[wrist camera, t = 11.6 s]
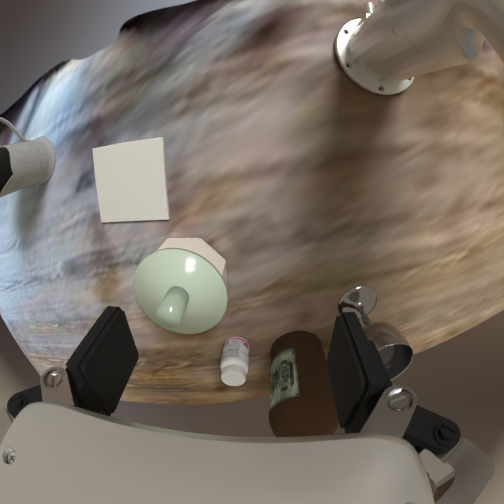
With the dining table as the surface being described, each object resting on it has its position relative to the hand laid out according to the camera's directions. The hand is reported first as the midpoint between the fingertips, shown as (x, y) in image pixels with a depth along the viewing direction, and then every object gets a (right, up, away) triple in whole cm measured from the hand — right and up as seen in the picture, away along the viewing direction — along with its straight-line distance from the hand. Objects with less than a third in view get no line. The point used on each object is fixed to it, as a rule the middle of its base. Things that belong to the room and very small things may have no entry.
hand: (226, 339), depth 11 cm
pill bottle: (-2, -13, +37) cm, 39 cm away
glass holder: (-37, +23, +23) cm, 49 cm away
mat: (-17, +14, +25) cm, 34 cm away
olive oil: (+9, -14, +37) cm, 41 cm away
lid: (-9, -2, +26) cm, 27 cm away
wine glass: (+19, -5, +33) cm, 38 cm away
